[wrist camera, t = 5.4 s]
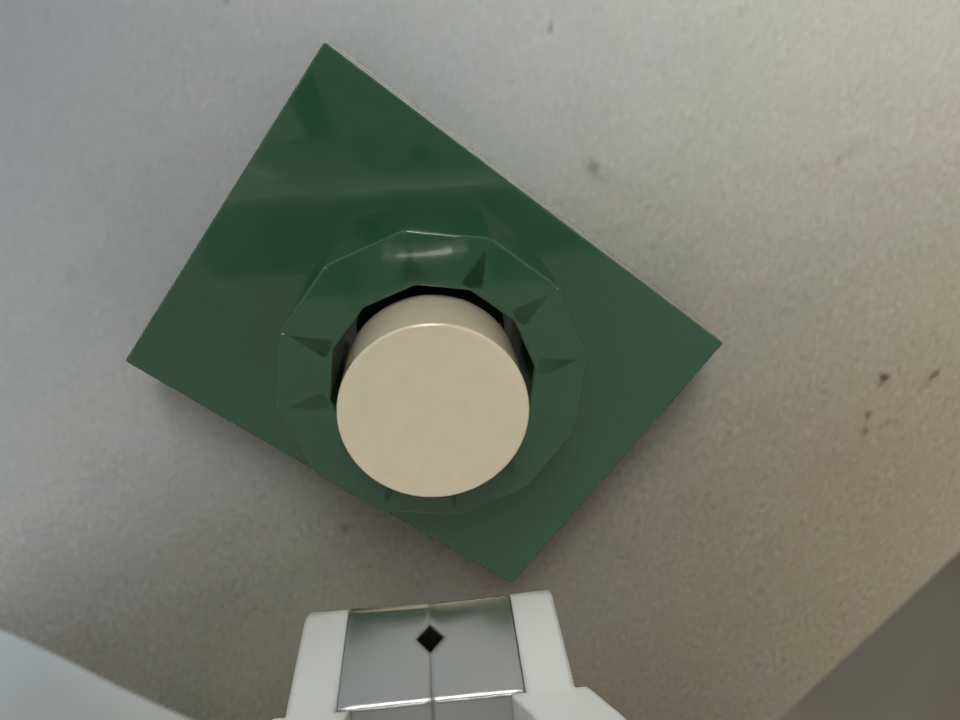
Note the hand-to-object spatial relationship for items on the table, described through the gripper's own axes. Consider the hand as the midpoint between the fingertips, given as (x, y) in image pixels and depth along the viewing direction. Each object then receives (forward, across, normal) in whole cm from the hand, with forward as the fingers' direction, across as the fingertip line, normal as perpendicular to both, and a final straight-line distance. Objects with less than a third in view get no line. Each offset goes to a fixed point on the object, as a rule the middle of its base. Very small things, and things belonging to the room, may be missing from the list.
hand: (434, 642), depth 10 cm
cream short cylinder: (+9, 0, 0) cm, 9 cm away
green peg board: (+12, 0, 0) cm, 12 cm away
